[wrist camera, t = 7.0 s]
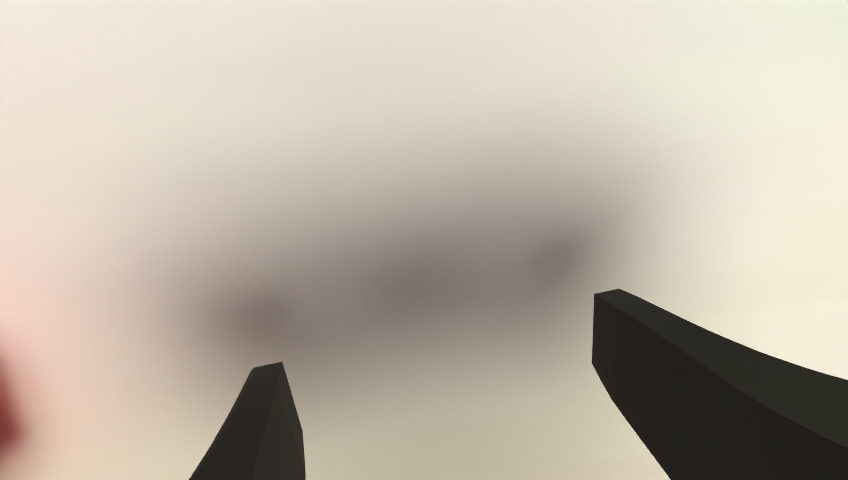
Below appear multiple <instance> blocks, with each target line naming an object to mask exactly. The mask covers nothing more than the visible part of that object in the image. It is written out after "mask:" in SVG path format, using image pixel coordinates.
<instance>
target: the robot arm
mask: <svg viewBox="0 0 848 480" xmlns="http://www.w3.org/2000/svg"><path fill="white" fill-rule="evenodd" d="M592 364H593V366H594V368H595V370H596V372H597V374H598V376H599V377H600V379H601V381H602V383H603V385H604V387H605V388H606V390H607V392H608V394H609V395H610V397H611V399H612V401H613V402H614V403H615V405H616V406H617V408H618V409H619V410H620V412H621V413H622V414H623V416H624V417H625V419H626V420H627V421H628V423H629V424H630V425H631V427H632V428H633V429H634V431H635V432H636V433H637V435H638V436H639V437H640V439H641V440H642V441H643V443H644V444H645V446H646V447H647V448H648V450H649V451H650V452H651V454H652V455H653V456H654V458H655V459H656V460H657V462H658V463H659V464H660V466H661V467H662V468H663V470H664V471H665V472H666V474H667V475H668V476H669V478H670V479H671V480H848V380H845V379H842V378H838V377H834V376H831V375H827V374H824V373H821V372H817V371H814V370H811V369H807V368H804V367H801V366H799V365H796V364H793V363H790V362H787V361H784V360H781V359H778V358H775V357H772V356H769V355H767V354H764V353H761V352H759V351H756V350H754V349H751V348H749V347H746V346H744V345H741V344H739V343H736V342H734V341H732V340H729V339H727V338H724V337H722V336H720V335H718V334H715V333H713V332H711V331H708V330H706V329H704V328H702V327H700V326H698V325H695V324H693V323H691V322H689V321H687V320H685V319H683V318H681V317H678V316H676V315H674V314H672V313H670V312H668V311H666V310H664V309H662V308H660V307H658V306H656V305H654V304H652V303H649V302H647V301H645V300H643V299H641V298H639V297H637V296H635V295H632V294H630V293H628V292H626V291H623V290H621V289H615V290H611V291H606V292H602V293H597V294H594V319H593V347H592ZM189 480H305V459H304V445H303V432H302V428H301V424H300V421H299V418H298V414H297V411H296V407H295V404H294V400H293V397H292V394H291V390H290V387H289V383H288V380H287V376H286V373H285V370H284V366H283V363H282V362H279V363H274V364H269V365H265V366H260V367H256V368H253V370H252V371H251V372H250V374H249V376H248V378H247V380H246V382H245V384H244V386H243V388H242V390H241V392H240V394H239V396H238V398H237V400H236V402H235V403H234V405H233V407H232V409H231V411H230V413H229V415H228V417H227V418H226V420H225V422H224V424H223V425H222V427H221V429H220V431H219V432H218V434H217V436H216V438H215V439H214V441H213V443H212V444H211V446H210V448H209V449H208V451H207V453H206V454H205V456H204V457H203V459H202V460H201V462H200V463H199V465H198V467H197V468H196V470H195V471H194V473H193V474H192V476H191V477H190V479H189Z"/></svg>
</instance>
